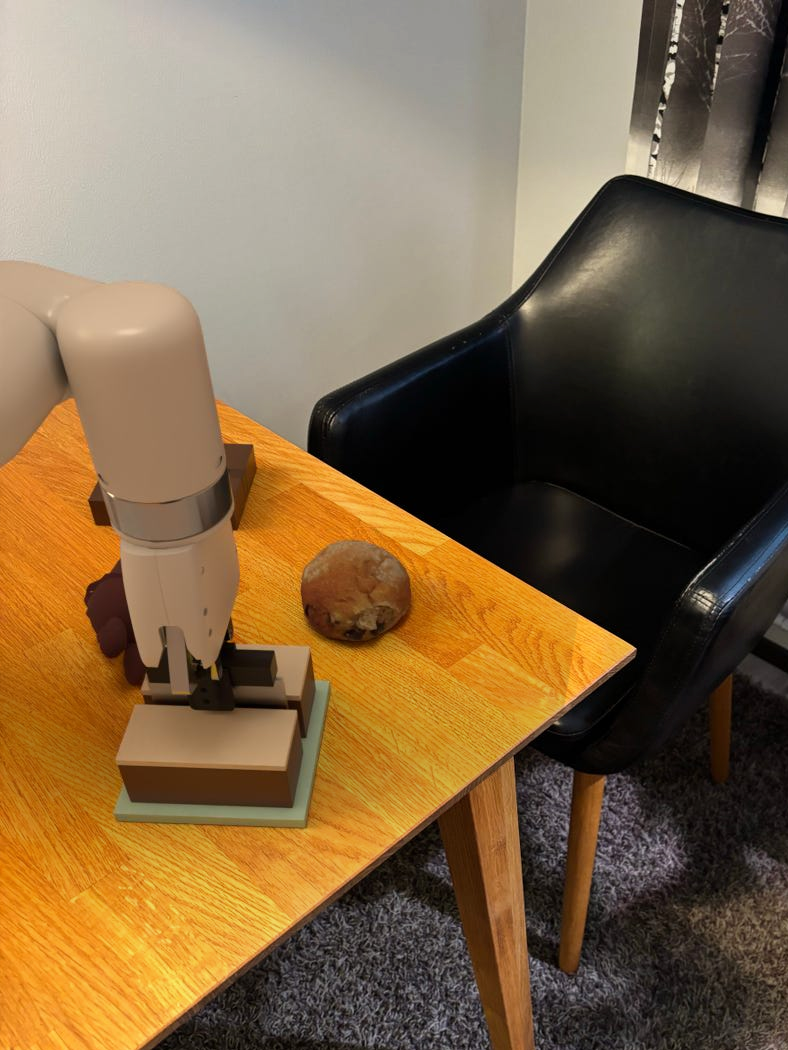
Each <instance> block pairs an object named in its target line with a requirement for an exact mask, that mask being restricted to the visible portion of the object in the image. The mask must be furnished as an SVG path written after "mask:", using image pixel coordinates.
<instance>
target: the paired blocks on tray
mask: <svg viewBox="0 0 788 1050" xmlns="http://www.w3.org/2000/svg"><path fill="white" fill-rule="evenodd" d="M235 644H236V648H237V649H247V650H274V651H275V656H276V662H277V668H278V671H277V675H276V677H283V679H284V685H285V691H286V696H287V702H288V708H289V710H281V709H254V708H234V710H233V711H205V710H193V709H192V708H191V707H190V706H170V705H154V702H153V699H152V696H151V693H150V690H149V686H148V683H147V680H146V677H145V676H144V679H143V683H142V685H141V688H140V693H141V695H142V698H143V702H144V704H142V703H140V704H139V703H135V704H134V707H133V710H132V713H131V715H130V718H129V721H128V723H127V727H126V728H125V731H124V734H123V736H122V737H123V738H122V740H121V743H120V745H119V748H118V751H117V754H116V756H115V764H116V765H117V769H118V772H119V775H120V777H121V779H122V782H123V784H122V786H121V790H120V793H119V795H118V799H117V801H116V804H115V807H114V809H113V813H112V814H113V816H114V819H115V821H116V822H130V823H131V822H132V823H134V822H135V823H156V824H157V823H158V824H159V823H160V824H188V825H213V826H239V827H240V826H241V827H242V826H243V827H269V828H271V827H272V828H295V829H296V828H297V829H303V828H304V829H306V827H307V823H308V816H309V811H310V805H311V799H312V794H313V789H314V783H315V777H316V772H317V767H318V761H319V757H320V756H319V755H320V750H321V745H322V739H323V734H324V729H325V722H326V717H327V711H328V707H329V701H330V695H331V690H332V688H331V681H330V680H317V679H316V678H315V673H314V664H313V657H312V650H311V646H310V645H305V646H304V645H286V644H285V645H284V644H283V645H282V644H258V643H257V644H256V643H255V644H254V643H235ZM165 647H167V645H166V646H165ZM315 679H316V680H315Z"/></svg>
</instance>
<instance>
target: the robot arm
mask: <svg viewBox="0 0 788 1050" xmlns="http://www.w3.org/2000/svg"><path fill="white" fill-rule="evenodd" d="M214 391H215V390H214V386H213V380H212V375H211V370H210V365H209V360H208V355H207V348H206V343H205V338H204V332H203V328H202V324H201V320H200V317H199V314H198V313H197V310H196V308H195V306H194V305H193V304H192V302H191V301H190V300H189V299H188V297H186V296H185V295H184V294H183V293H182V292H181V291H179V290H177V289H175V288H173V287H171V286H168V285H165V284H162V283H159V282H155V281H147V280H124V281H123V280H122V281H115V282H110V283H109V282H103V281H99V280H95V279H91V278H88V277H85V276H81V275H76V274H74V273H70V272H66V271H63V270H61V269H57V268H54V267H50V266H46V265H44V264H43V265H42V264H39V263H34V262H30V261H24V260H14V259H13V260H12V259H11V260H9V259H8V260H0V469H1V468H3V467H4V466H6V465H7V464H9V463H10V462H11V461H12V460H13V459H15V458H16V456H17V455H19V453H20V452H21V451H22V450H23V448H24V447H25V446H26V445H27V444H28V442H29V441H30V440H31V439H32V437H33V436H34V435H35V433H36V432H37V431H38V430H39V428H41V426H42V425H43V424H44V422H45V420H46V419H47V418H48V416H49V415H50V414H51V413H52V412H53V410H54V409H55V407H57V406H59V405H60V404H62V403H64V402H66V401H68V400H71V399H73V401H74V404H75V408H76V410H77V414H78V417H79V421H80V425H81V427H82V431H83V434H84V438H85V441H86V445H87V448H88V451H89V454H90V458H91V461H92V464H93V467H94V471H95V474H96V478H97V482H98V481H99V485H100V488H101V491H102V495H103V498H104V501H105V505H106V508H107V512H108V515H109V518H110V521H111V525H110V526H111V528H112V529H113V531H114V532H115V533H116V534H117V536H119V538H120V541H119V554H120V555H119V556H120V558H121V566H122V574H123V582H124V588H125V593H126V599H127V604H128V608H129V613H130V617H131V622H132V626H133V630H134V634H135V638H136V642H137V646H138V650H139V653H140V657H141V659H142V661H143V663H144V664H145V665H146V666H147V667H158V665H159V662H160V660H161V657H162V654H163V651H164V648H165V646H166V645H167V652H168V663H169V673H170V683H171V692H172V694H180V695H187V697H188V700H189V704H190V707H191V708H192V709H193V710H205V711H233V710H234V707H235V699H234V694H233V690H232V685H231V681H230V676H229V672H228V669H226V668H222V664H221V659H220V655H219V652H220V649H237V648H236V644H237V643H236V642H234V641H233V639H234V633H235V629H234V623H233V618H232V613H233V610H234V607H235V602H236V599H237V596H238V591H239V588H240V587H239V586H240V580H241V579H240V578H241V570H240V569H241V568H240V561H239V560H240V559H239V554H238V548H237V542H236V539H235V533H234V530H233V529H232V525H231V521H230V518H231V516H232V514H233V511H234V498H233V494H232V488H231V483H230V478H229V472H228V467H227V462H226V455H225V450H224V445H223V443H224V440H223V434H222V428H221V423H220V418H219V413H218V408H217V403H216V402H217V401H216V397H215V392H214ZM231 641H232V642H231ZM192 657H195V659H196V660H201V662H193V660H192Z"/></svg>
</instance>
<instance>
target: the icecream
mask: <svg viewBox="0 0 788 1050" xmlns="http://www.w3.org/2000/svg"><path fill="white" fill-rule="evenodd" d="M83 603H84V605H85V607H86V608H87V609H86V611H85V615H86V617H87V618H88V619H89V622H90V625H91V628H92V629H93V631H94V634H96V640H97V644H99V650H100V652H101V654H102V655H103V656H104V657H105V658H107V659H110V660H112V659H117V658H119V656H121V655H122V654H123V658H122V659H123V660H122V661H123V662H122V667H123V673H124V674H123V675H124V677H125V680H126V682H127V684H128V685H130V686H138V685H139V684H140V683H141V682H142V681H143V680H144V679H145V675H146V670H145V667H144V663H143V661H142V659H141V657H140V653H139V650H138V646H137V642H136V638H135V634H134V630H133V626H132V622H131V617H130V613H129V608H128V604H127V599H126V593H125V588H124V582H123V574H122V566H121V557H120V558H119V559H118V560H117V562H116V563H115V565H114V566H113V567H112V569H111V570H110V571H109V572H108V573H104V574H103V576H101V578H100V579H97V580H95V581H92V582H91V583H89V584H88V585H87V587H86V590H85V596H84V597H83Z"/></svg>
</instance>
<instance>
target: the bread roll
mask: <svg viewBox="0 0 788 1050" xmlns="http://www.w3.org/2000/svg"><path fill="white" fill-rule="evenodd" d="M300 581H301V582H300V598H301V607H302V609H303V614H304V617H305V620H306V622H307V623H308V624H309V625H310V626H311V627H312V628H313V629H314V630H315V631H316V632H318V633H319V634H321V635H322V636H324V637H326V638H329V639H333V640H340V641H341V640H343V641H349V642H359V641H362V642H365V641H369V640H370V639H372V638H375V637H378V636H379V635H381V634H383V633H385V632H387V631H388V630H390V629H391V628H394V626H395V625H396V624H397V623H398V622H399V620H401V618H402V617H403V616H405V615H406V613H407V612H408V610H409V608H410V606H411V602H412V589H411V578H410V574H409V573H408V570H407V568H406V567H405V566H404V564H403V563H402V562H401V561H400V560H399V559H398V558H397V557H396V556H395V555H394V554H392V553H391V552H389V550H387V549H386V548H383V547H381V546H379V545H376V544H374V543H371V542H369V541H364V540H357V539H343V540H337V541H335V542H332V543H329V544H328V545H326V547H324V548H323V549H321V550H320V551H318V552H317V553H316V555H315V556H314V557H313V558H312V559H311V560H309V562H307V564H306V565H305V566H304V568H303V571H302V574H301V578H300Z"/></svg>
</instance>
